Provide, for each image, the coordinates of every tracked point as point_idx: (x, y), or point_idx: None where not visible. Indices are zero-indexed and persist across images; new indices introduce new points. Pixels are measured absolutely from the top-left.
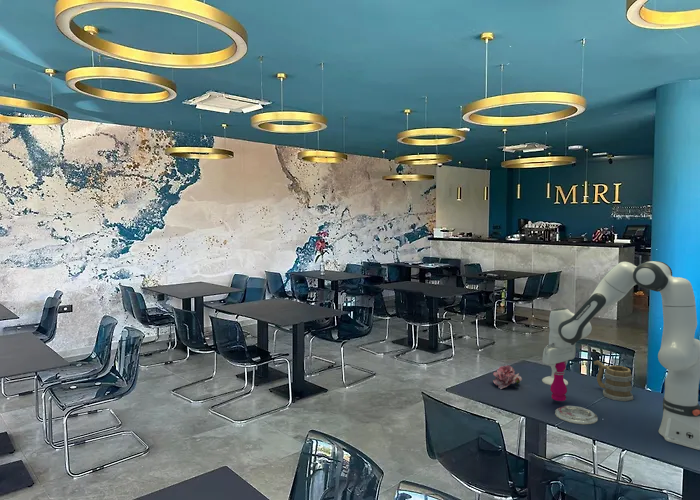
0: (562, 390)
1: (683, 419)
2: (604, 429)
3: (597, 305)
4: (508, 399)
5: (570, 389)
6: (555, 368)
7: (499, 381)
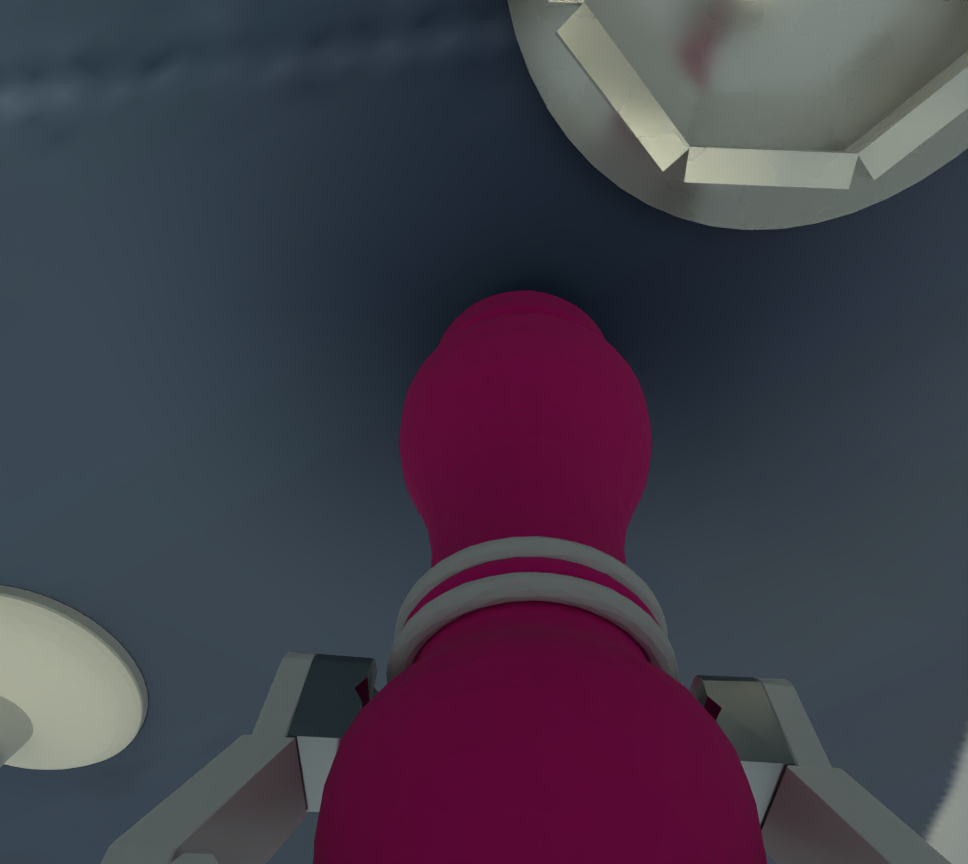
0: (596, 349)
1: None
2: None
3: None
4: (817, 679)
5: (22, 504)
6: (821, 786)
7: None
